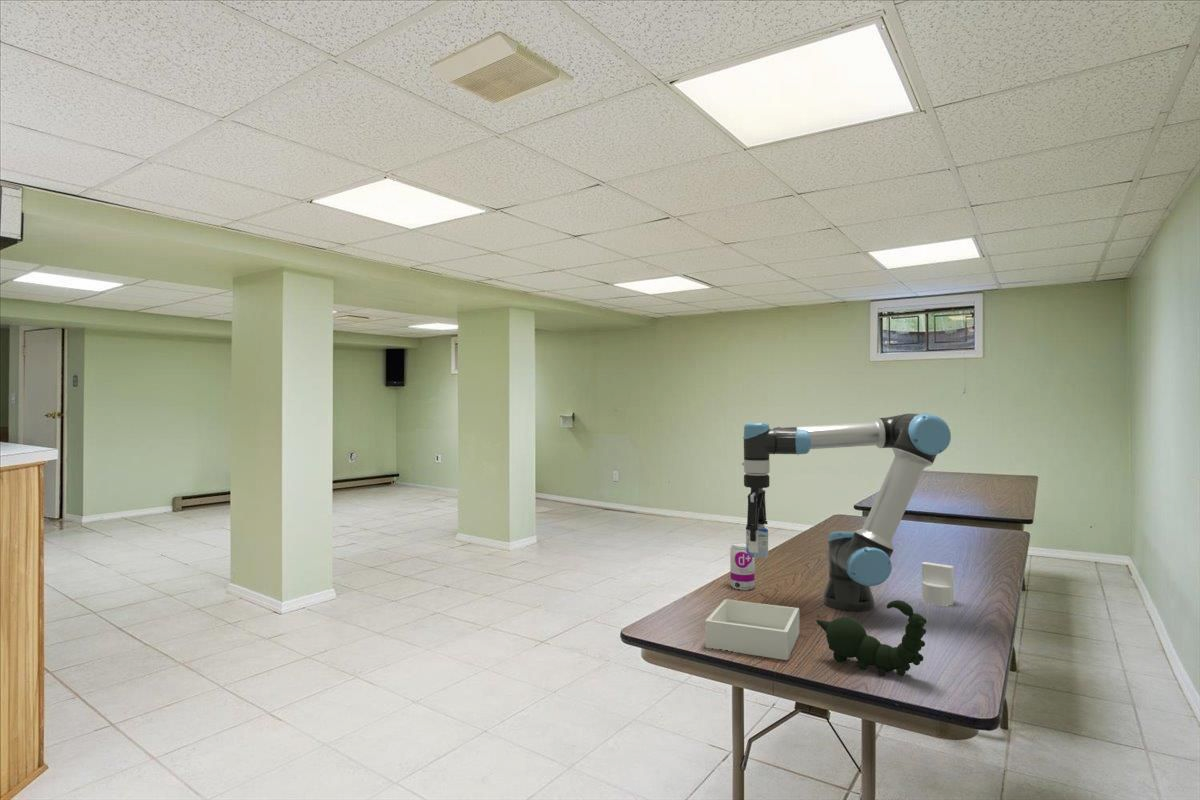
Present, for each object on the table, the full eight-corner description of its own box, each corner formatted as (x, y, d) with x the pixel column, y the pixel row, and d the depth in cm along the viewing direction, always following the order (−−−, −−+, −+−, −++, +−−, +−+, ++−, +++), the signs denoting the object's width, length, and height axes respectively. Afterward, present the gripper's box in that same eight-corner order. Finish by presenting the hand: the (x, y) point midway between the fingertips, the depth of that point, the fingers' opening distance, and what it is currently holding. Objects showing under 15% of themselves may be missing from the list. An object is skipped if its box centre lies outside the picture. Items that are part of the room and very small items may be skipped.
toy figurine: (924, 681, 152) (820, 647, 168) (931, 602, 151) (826, 575, 167) (914, 695, 145) (806, 658, 161) (921, 612, 144) (812, 583, 160)
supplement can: (755, 591, 221) (754, 547, 221) (730, 590, 222) (730, 546, 223) (754, 585, 229) (754, 542, 229) (730, 583, 230) (730, 541, 231)
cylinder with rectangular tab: (957, 601, 208) (956, 564, 208) (949, 608, 202) (948, 569, 202) (927, 596, 214) (926, 560, 214) (918, 602, 208) (918, 565, 208)
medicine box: (745, 552, 198) (745, 524, 198) (760, 552, 199) (759, 524, 199) (753, 558, 190) (753, 529, 190) (768, 558, 191) (768, 528, 191)
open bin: (799, 633, 180) (799, 608, 180) (787, 660, 161) (787, 632, 161) (725, 623, 189) (724, 599, 189) (705, 647, 170) (705, 620, 170)
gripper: (751, 470, 206) (752, 540, 206) (735, 476, 187) (736, 555, 186) (775, 471, 203) (776, 542, 203) (761, 478, 183) (762, 557, 183)
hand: (757, 548), depth 194 cm, fingers closed on medicine box, 9 cm apart
